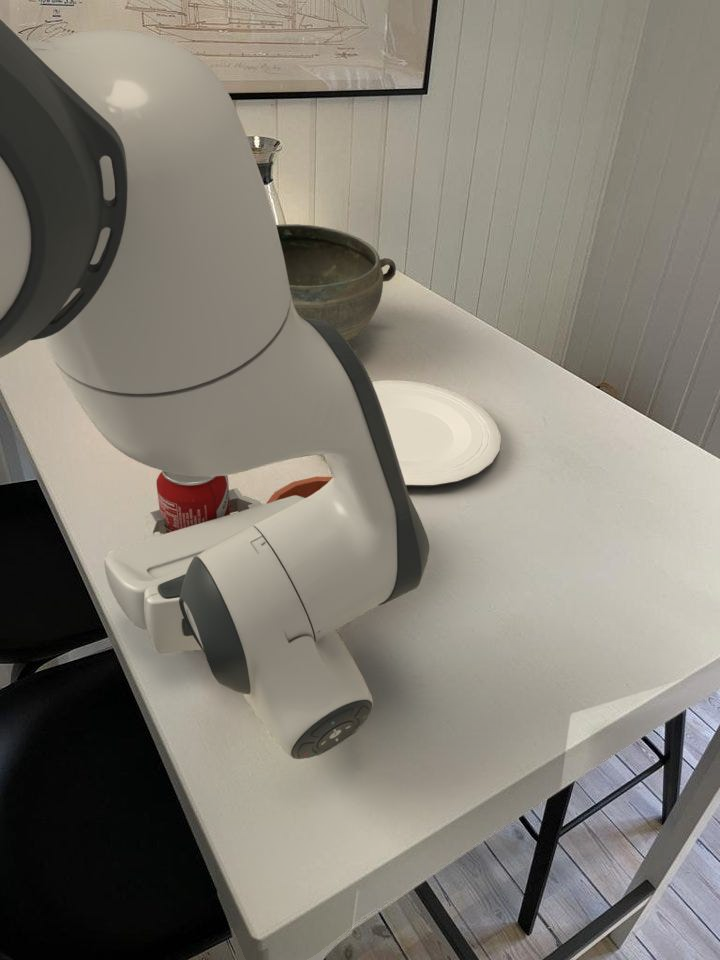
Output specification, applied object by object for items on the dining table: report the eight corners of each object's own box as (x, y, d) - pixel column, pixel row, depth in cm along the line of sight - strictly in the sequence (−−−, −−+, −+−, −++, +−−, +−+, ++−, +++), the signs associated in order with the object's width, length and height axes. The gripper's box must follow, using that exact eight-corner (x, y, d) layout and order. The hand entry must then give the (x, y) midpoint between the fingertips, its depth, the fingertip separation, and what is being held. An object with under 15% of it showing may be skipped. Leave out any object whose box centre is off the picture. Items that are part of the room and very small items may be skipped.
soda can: (213, 588, 75) (206, 494, 68) (153, 570, 77) (140, 476, 69) (243, 546, 80) (239, 455, 73) (186, 530, 82) (177, 439, 75)
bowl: (213, 396, 106) (207, 295, 97) (180, 317, 125) (173, 227, 116) (420, 369, 116) (432, 276, 107) (361, 300, 135) (367, 216, 126)
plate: (527, 488, 93) (530, 476, 92) (328, 504, 88) (329, 491, 87) (465, 386, 113) (467, 375, 111) (299, 394, 108) (299, 383, 106)
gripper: (352, 533, 69) (285, 454, 78) (129, 608, 59) (83, 508, 69) (348, 583, 72) (285, 502, 82) (138, 660, 63) (93, 559, 73)
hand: (191, 505), depth 75 cm, fingers closed on soda can, 6 cm apart
